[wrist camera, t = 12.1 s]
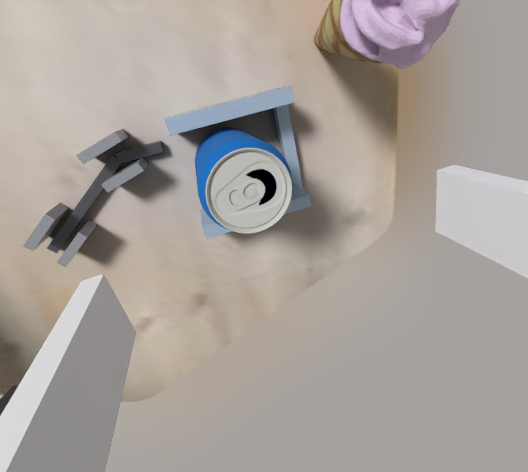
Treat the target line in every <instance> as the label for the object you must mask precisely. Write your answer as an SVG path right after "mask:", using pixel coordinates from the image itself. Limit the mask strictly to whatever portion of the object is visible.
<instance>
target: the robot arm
mask: <svg viewBox="0 0 528 472" xmlns="http://www.w3.org/2000/svg"><path fill="white" fill-rule="evenodd" d="M436 197H437V199H436V232H438V233H440V234H442V235H444V236H446V237H448V238H450V239H452V240H453V241H456V242H457V243H460V244H461V245H463V246H465V247H467V248H469V249H471V250H473V251H475V252H477V253H479V254H481V255H483V256H485V257H487V258H489V259H491V260H493V261H495V262H497V263H499V264H501V265H503V266H505V267H506V268H508V269H511V270H512V271H514V272H516V273H518V274H520V275H522V276H524V277H526V278H528V182H527V181H523V180H519V179H514V178H510V177H504V176H501V175H496V174H492V173H487V172H483V171H478V170H474V169H469V168H465V167H461V166H456V165H452V166H449V167H446V168H443V169H440V170H437V195H436ZM135 335H136V331H135V329H134V327H133V326H132V324H131V322H130V320H129V318H128V317H127V315H126V313H125V311H124V309H123V308H122V306H121V304H120V302H119V300H118V299H117V297H116V295H115V293H114V291H113V290H112V288H111V286H110V284H109V282H108V281H107V279H106V277H105V275H104V274H102V275H99V276H96V277H93V278H89V279H86V280H83V281H81V283H80V284H79V286H78V288H77V289H76V291H75V293H74V294H73V296H72V298H71V299H70V301H69V303H68V304H67V306H66V308H65V309H64V311H63V313H62V314H61V316H60V318H59V319H58V321H57V323H56V324H55V326H54V328H53V329H52V331H51V333H50V334H49V336H48V338H47V339H46V341H45V343H44V344H43V346H42V347H41V349H40V351H39V352H38V354H37V356H36V357H35V359H34V361H33V362H32V364H31V366H30V367H29V369H28V371H27V372H26V374H25V376H24V377H23V379H22V381H21V382H20V384H19V385H16V386H13V387H12V388H11V389H10V390H9V391H8V392H7V393H6V394H5V395H4V396H3V397H2V398H1V399H0V472H105V468H106V463H107V458H108V454H109V449H110V445H111V441H112V437H113V432H114V428H115V423H116V419H117V414H118V410H119V406H120V401H121V397H122V392H123V388H124V384H125V379H126V375H127V370H128V366H129V362H130V357H131V353H132V348H133V344H134V339H135Z"/></svg>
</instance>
